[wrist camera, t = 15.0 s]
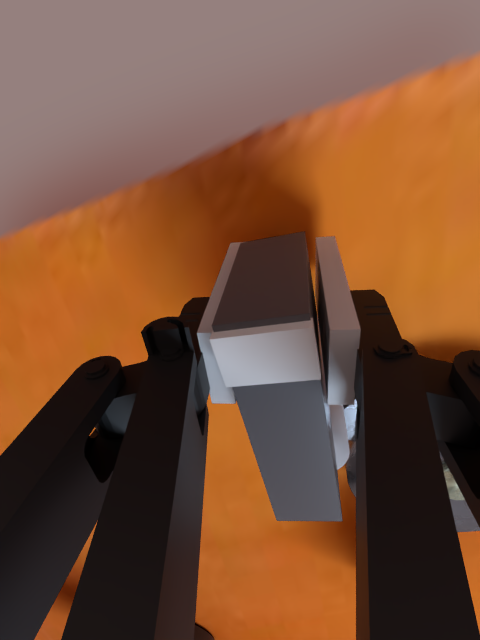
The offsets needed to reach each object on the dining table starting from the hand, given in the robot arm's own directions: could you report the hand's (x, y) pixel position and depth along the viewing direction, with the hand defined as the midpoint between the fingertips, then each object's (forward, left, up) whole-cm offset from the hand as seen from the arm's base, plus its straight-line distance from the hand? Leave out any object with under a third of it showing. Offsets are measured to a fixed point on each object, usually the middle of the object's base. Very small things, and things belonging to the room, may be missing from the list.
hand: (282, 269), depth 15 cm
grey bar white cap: (-1, -3, -1) cm, 3 cm away
